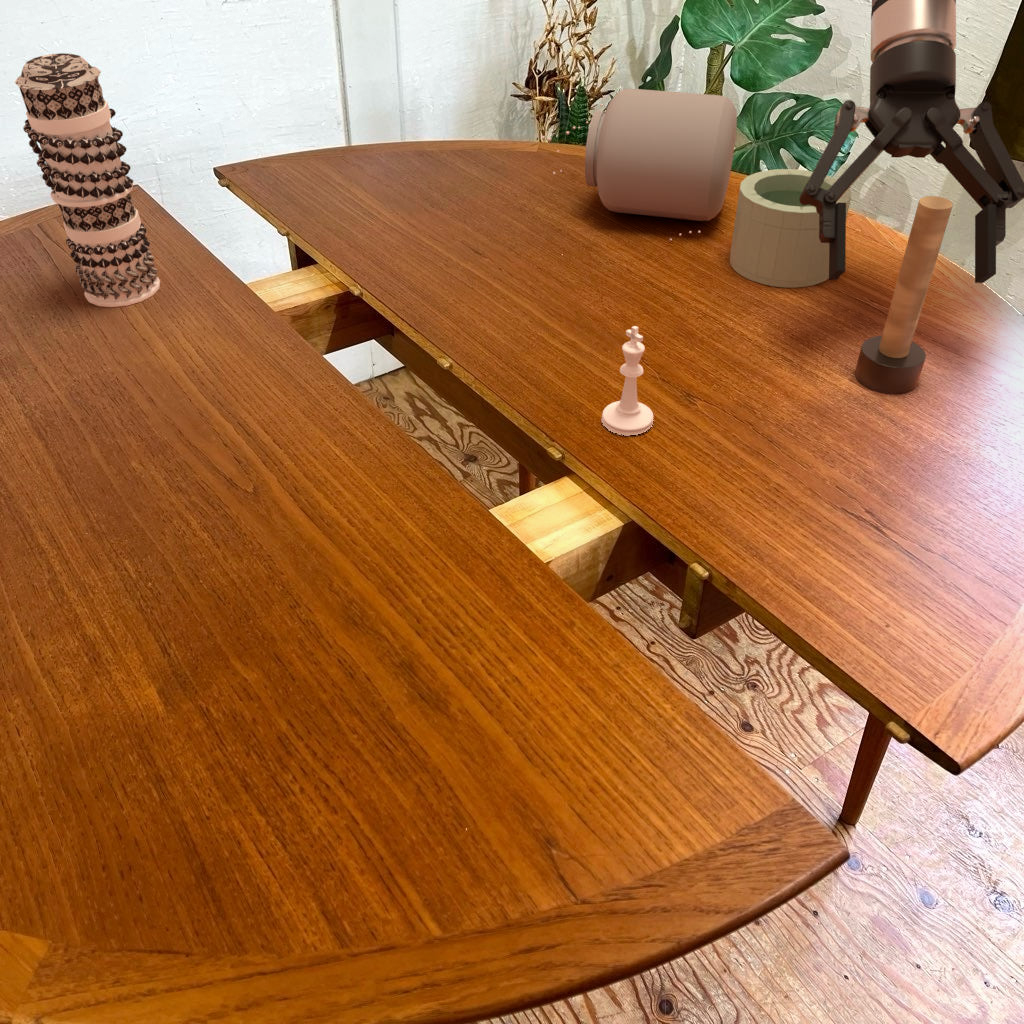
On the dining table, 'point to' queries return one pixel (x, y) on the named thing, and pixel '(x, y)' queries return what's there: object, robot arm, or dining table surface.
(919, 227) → the brush
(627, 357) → the chess piece
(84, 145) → the decorative candle
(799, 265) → the gray beige cylindrical container
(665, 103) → the jar
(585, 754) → the dining table surface
